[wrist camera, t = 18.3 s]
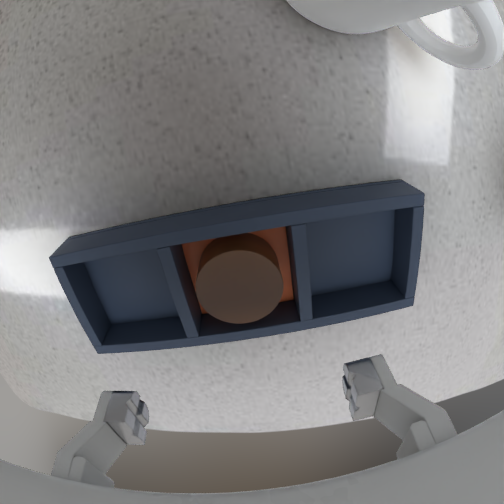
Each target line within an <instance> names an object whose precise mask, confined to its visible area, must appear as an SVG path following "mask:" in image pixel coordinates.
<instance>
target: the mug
mask: <svg viewBox="0 0 504 504" xmlns="http://www.w3.org/2000/svg"><path fill="white" fill-rule="evenodd" d="M286 1H287V2H288V3H289V4H290V6H292V7H293V8H294V9H295V10H296V11H297V12H298V13H300V14H301V15H302V16H304V17H305V18H307V19H308V20H310V21H312V22H313V23H315V24H317V25H319V26H321V27H324V28H327V29H329V30H332V31H336V32H340V33H346V34H368V33H373V32H377V31H381V30H384V29H387V28H390V27H393V26H398V27H399V28H400V29H401V30H402V31H403V32H404V33H405V34H406V35H407V36H408V37H409V38H410V39H411V40H412V41H413V42H415V43H416V44H417V45H418V46H419V47H421V48H422V49H423V50H425V51H426V52H428V53H429V54H431V55H432V56H434V57H436V58H438V59H439V60H441V61H443V62H445V63H448V64H450V65H453V66H456V67H459V68H463V69H470V70H479V69H486V68H489V67H491V66H493V65H494V64H496V63H497V62H498V61H499V60H500V59H501V58H502V56H503V53H504V25H503V22H502V19H501V16H500V14H499V12H498V10H497V8H496V6H495V4H494V2H493V0H286ZM458 6H461V7H462V9H463V10H464V11H465V12H466V14H467V15H468V16H469V18H470V19H471V21H472V23H473V24H474V26H475V28H476V31H477V34H478V41H477V42H476V43H475V44H473V45H470V46H462V45H457V44H453V43H451V42H448V41H446V40H444V39H442V38H441V37H439V36H438V35H436V34H435V33H434V32H432V31H431V30H430V29H429V28H428V27H427V26H426V25H425V24H424V23H423V22H422V21H421V19H420V17H423V16H427V15H430V14H433V13H436V12H439V11H443V10H446V9H450V8H454V7H458Z"/></svg>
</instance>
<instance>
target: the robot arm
mask: <svg viewBox="0 0 504 504" xmlns="http://www.w3.org/2000/svg"><path fill="white" fill-rule="evenodd" d="M343 371H344V374H345V375H344V376H343V380H342V383H343V390H344V394H345V397H346V399H347V400H349V401H350V402H349V410H350V413H351V416H352V419H353V421H355V420H359V419H363V418H367V417H371V416H374V417H375V418H376V419H377V420H379V421H380V422H381V423H382V424H383V425H384V426H386V427H387V428H388V429H389V430H391V431H392V432H393V433H394V434H396V435H397V436H398V437H400V438H401V439H402V440H403V442H402V444H401V446H400V448H399V450H398V451H397V453H396V456H397V458H398V459H397V460H395V461H392V462H389V463H386V464H383V465H379V466H376V467H373V468H369V469H366V470H362V471H359V472H355V473H351V474H347V475H343V476H339V477H335V478H331V479H326V480H322V481H316V482H311V483H306V484H300V485H294V486H288V487H281V488H274V489H265V490H256V491H245V492H231V493H203V494H202V493H201V494H200V493H198V494H197V493H192V494H191V493H162V492H146V491H135V490H127V489H118V488H114V481H113V480H112V479H110V478H109V477H108V476H106V475H105V474H106V473H107V471H108V470H109V469H110V467H111V466H112V465H113V463H114V462H115V461H116V460H117V458H118V457H119V456H120V454H121V453H122V452H123V450H124V449H125V448H126V446H127V444H133V445H134V444H135V445H137V444H138V445H144V444H145V440H146V434H147V431H146V429H145V428H144V427H145V426H146V425H147V424H148V422H149V410H148V407H147V405H146V404H145V402H143V401H141V400H140V395H139V394H138V392H137V391H103V392H102V393H101V396H100V399H99V402H98V405H97V409H96V412H95V415H94V418H93V421H90V422H89V423H88V424H87V425H86V426H84V427H83V428H82V429H81V430H80V431H79V432H78V433H77V434H76V435H75V436H74V437H73V438H72V439H71V440H70V441H69V442H68V443H67V444H66V445H64V447H63V448H61V449H60V450H59V451H58V453H57V456H56V459H55V463H54V467H53V470H52V473H51V475H48V474H44V473H40V472H37V471H34V470H30V469H27V468H24V467H21V466H18V465H15V464H12V463H9V462H6V461H4V460H1V459H0V504H504V410H503V411H502V412H500V413H498V414H496V415H494V416H493V417H491V418H489V419H487V420H486V421H484V422H482V423H480V424H478V425H476V426H475V427H473V428H470V429H468V430H466V431H464V432H462V433H461V434H457V432H456V430H455V428H454V426H453V424H452V422H451V420H450V418H449V416H448V414H447V412H446V410H445V409H443V408H441V407H440V406H438V405H436V404H434V403H433V402H431V401H429V400H427V399H426V398H424V397H422V396H421V395H419V394H417V393H415V392H414V391H412V390H410V389H409V388H407V387H405V386H403V385H402V384H399V385H397V383H396V381H395V379H394V377H393V375H392V373H391V371H390V369H389V367H388V365H387V363H386V361H385V359H384V357H383V355H381V354H380V355H376V356H373V357H369V358H364V359H360V360H356V361H352V362H349V363H345V364H344V366H343Z"/></svg>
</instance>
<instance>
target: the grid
mask: <svg viewBox="0 0 504 504" xmlns="http://www.w3.org/2000/svg"><path fill="white" fill-rule="evenodd" d="M424 196H425V194H424V193H423V192H422V191H420V190H418V189H417V188H415V187H413V186H411V185H410V184H408V183H406V182H405V181H403V180H393V181H383V182H375V183H366V184H358V185H350V186H342V187H335V188H327V189H320V190H313V191H306V192H299V193H292V194H286V195H279V196H273V197H267V198H260V199H254V200H248V201H243V202H237V203H231V204H225V205H220V206H214V207H209V208H203V209H198V210H193V211H187V212H182V213H177V214H172V215H167V216H162V217H157V218H152V219H148V220H143V221H138V222H133V223H129V224H124V225H120V226H115V227H111V228H106V229H102V230H98V231H93V232H89V233H85V234H81V235H77V236H73V237H69V238H68V239H67V240H66V241H65V242H64V243H63V244H62V245H61V246H60V247H59V248H58V249H57V250H56V251H55V252H54V253H53V254H52V255H51V256H50V257H49V259H50V261H51V264H52V266H53V268H54V271H55V273H56V275H57V277H58V279H59V282H60V284H61V286H62V288H63V290H64V292H65V294H66V296H67V298H68V300H69V302H70V304H71V306H72V308H73V310H74V312H75V314H76V316H77V318H78V320H79V322H80V323H81V325H82V327H83V329H84V331H85V332H86V334H87V336H88V338H89V340H90V341H91V343H92V345H93V346H94V348H95V350H96V351H97V353H98V354H103V353H121V352H136V351H149V350H161V349H171V348H181V347H191V346H200V345H208V344H216V343H224V342H231V341H238V340H245V339H252V338H259V337H265V336H271V335H277V334H283V333H289V332H295V331H300V330H306V329H311V328H316V327H322V326H327V325H332V324H336V323H341V322H346V321H351V320H355V319H360V318H364V317H369V316H373V315H377V314H381V313H386V312H390V311H394V310H398V309H402V308H406V307H409V306H413V303H414V296H415V290H416V283H417V276H418V268H419V260H420V251H421V241H422V229H423V215H424V206H423V205H424ZM242 233H251V234H254V235H257V236H259V237H261V238H262V239H264V240H265V241H266V242H268V243H269V244H270V245H271V247H272V248H273V250H274V251H275V253H276V256H277V259H278V263H279V267H280V270H281V274H282V278H283V286H284V288H283V294H282V297H281V300H280V302H279V303H278V305H277V306H276V307H275V309H274V310H273V311H272V312H271V313H269V314H268V315H267V316H265V317H263V318H261V319H259V320H257V321H254V322H249V323H242V324H236V323H229V322H224V321H221V320H219V319H217V318H215V317H213V316H212V315H210V314H209V313H208V312H207V311H206V310H205V309H204V308H203V307H202V306H201V304H200V302H199V301H198V298H197V295H196V289H195V284H196V278H197V272H198V267H199V262H200V258H201V255H202V253H203V251H204V249H205V248H206V247H207V245H208V244H209V243H210V242H211V241H213V240H214V239H216V238H219V237H225V236H231V235H236V234H242Z"/></svg>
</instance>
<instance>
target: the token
mask: <svg viewBox="0 0 504 504" xmlns="http://www.w3.org/2000/svg"><path fill="white" fill-rule="evenodd" d="M283 288H284V286H283V278H282V274H281V270H280V267H279V263H278V259H277V256H276V253H275V251H274V250H273V248H272V247H271V245H270V244H269V243H268V242H266V241H265V240H264V239H262V238H261V237H259V236H257V235H254V234H251V233H242V234H236V235H231V236H225V237H219V238H216V239H214V240H213V241H211V242H210V243H209V244H208V245H207V247H206V248H205V249H204V251H203V253H202V255H201V258H200V262H199V267H198V272H197V278H196V284H195V289H196V295H197V298H198V301H199V302H200V304H201V306H202V307H203V308H204V309H205V310H206V311H207V312H208V313H209V314H210V315H212V316H213V317H215V318H217V319H219V320H221V321H224V322H229V323H236V324H242V323H249V322H254V321H257V320H259V319H261V318H263V317H265V316H267V315H268V314H269V313H271V312H272V311H273V310H274V309H275V307H276V306H277V305H278V303H279V302H280V300H281V297H282V294H283Z"/></svg>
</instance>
